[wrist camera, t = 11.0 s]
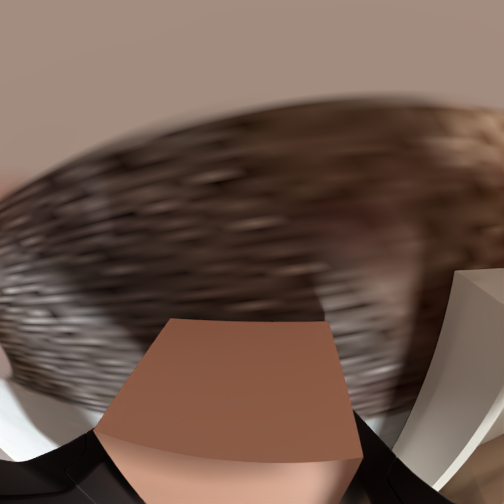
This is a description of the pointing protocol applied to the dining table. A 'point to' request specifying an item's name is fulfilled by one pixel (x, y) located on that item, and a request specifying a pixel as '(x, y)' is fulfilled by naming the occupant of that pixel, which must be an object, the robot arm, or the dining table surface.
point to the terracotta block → (235, 416)
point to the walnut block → (479, 476)
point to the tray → (460, 382)
